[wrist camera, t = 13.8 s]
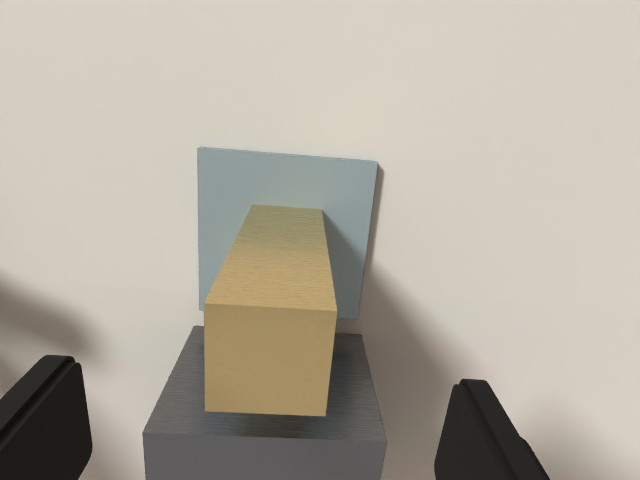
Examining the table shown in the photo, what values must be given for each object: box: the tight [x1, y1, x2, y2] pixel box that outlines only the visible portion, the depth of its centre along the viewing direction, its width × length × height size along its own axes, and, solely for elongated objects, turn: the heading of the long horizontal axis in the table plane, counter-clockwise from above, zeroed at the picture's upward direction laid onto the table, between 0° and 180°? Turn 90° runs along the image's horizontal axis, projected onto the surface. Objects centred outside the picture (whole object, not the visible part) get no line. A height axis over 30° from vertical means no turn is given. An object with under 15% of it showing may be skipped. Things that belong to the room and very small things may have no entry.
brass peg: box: [204, 204, 337, 416], centre depth 19 cm, size 4×4×12 cm
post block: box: [143, 326, 387, 480], centre depth 25 cm, size 11×11×9 cm
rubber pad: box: [197, 147, 378, 319], centre depth 25 cm, size 10×10×1 cm
